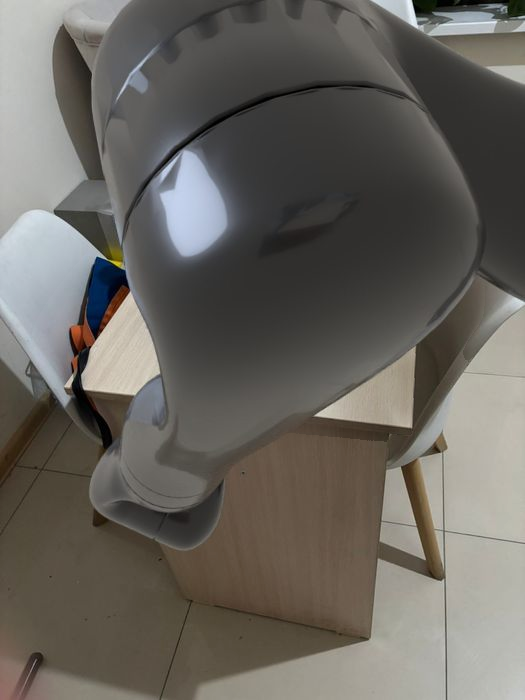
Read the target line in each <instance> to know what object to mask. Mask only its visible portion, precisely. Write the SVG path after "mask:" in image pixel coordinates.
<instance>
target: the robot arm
mask: <svg viewBox="0 0 525 700" xmlns="http://www.w3.org/2000/svg"><path fill="white" fill-rule="evenodd" d="M90 82H91V83H90V84H91V85H90V86H91V87H90V88H91V111H92V121H93V125H94V126H93V127H94V132H95V136H96V141H97V142H96V143H97V148H98V153H99V158H100V163H101V169H102V175H103V179H104V181H105V182H106V183H105V184H106V187H107V192H108V197H109V200H110V205H111V209H112V215H113V218H114V222H115V227H116V231H117V236H118V240H119V244H120V249H121V253H122V260H123V261H122V262H123V266H124V271H125V276H126V280H127V284H128V288H129V291H130V294H131V296H132V298H133V300H134V302H135V305H136V307H137V309H138V311H139V313H140V315H141V317H142V319H143V322H144V323H145V326H146V328H147V331H148V333H149V335H150V338H151V341H152V344H153V348H154V351H155V356H156V360H157V363H158V368H159V373H158V374H156V375H155V376H153V377H151V379H149V380H148V381H147V382H145V383H144V384H143V386H142V387H141V388H139V390H137V392H136V393H135V395H134V396H133V398H132V400H131V401H130V403H129V405H128V407H127V410H126V412H125V416H124V419H123V422H122V428H121V433H120V436H118V437H117V438H116V439H115V440H114V441H113V442H112V443H111V444H110V445H109V446H108V447H107V449H106V450H105V451H104V453H103V454H102V455H101V457H100V458H99V460H98V462H97V464H96V466H95V467H94V469H93V471H92V475H91V477H90V482H89V487H88V495H89V501H90V503H91V505H92V507H93V508H94V509H95V510H96V512H98V514H100V515H101V516H102V517H104V518H106V519H107V520H109V521H111V522H114V523H115V524H118V525H120V526H123V527H124V528H127V529H129V530H131V531H134V532H135V533H138V534H140V535H142V536H144V537H146V538H148V539H151V540H154V541H155V542H157V543H159V544H162V545H164V546H166V547H169V548H170V549H173V550H177V551H180V552H181V551H182V552H186V551H191V550H194V549H196V548H198V547H199V546H201V545H202V544H203V543H205V542H206V541H207V540H208V539H209V538H210V536H211V535H212V534H213V533H214V531H215V530H216V528H217V526H218V524H219V521H220V519H221V516H222V513H223V509H224V503H225V495H226V487H227V475H228V474H229V473H230V471H231V470H232V469H233V468H234V467H235V466H236V465H237V464H238V463H240V462H241V461H243V460H244V459H246V458H248V457H249V456H251V455H252V454H254V453H256V452H258V451H259V450H261V449H263V448H265V447H266V446H268V445H270V444H271V443H273V442H275V441H277V440H278V439H280V438H281V437H283V436H285V435H286V434H288V433H290V432H291V431H293V430H295V429H296V428H298V427H299V426H301V425H302V424H304V423H306V422H307V421H308V420H310V419H311V418H313V417H314V416H317V414H320V413H321V412H322V411H324V410H325V409H327V408H329V406H331V405H333V404H335V403H337V402H338V401H339V400H342V399H343V398H344V397H346V396H347V395H349V394H350V393H352V392H354V391H355V390H357V389H358V388H360V387H361V386H362V385H364V384H366V383H367V382H369V381H371V380H372V379H373V378H375V377H377V376H378V375H380V374H381V373H382V372H383V371H386V369H388V368H389V367H390V366H392V365H394V363H396V362H397V361H399V360H400V359H401V358H403V357H404V356H405V355H406V354H407V353H409V352H410V351H411V350H412V349H414V348H415V347H416V346H417V345H418V344H420V343H421V342H422V341H423V340H424V339H425V338H426V337H427V336H428V335H429V334H431V333H432V332H433V331H434V330H435V329H436V328H437V327H438V326H439V325H440V324H441V323H442V322H443V321H444V320H445V319H446V318H447V317H448V316H449V314H450V313H451V312H452V311H453V310H454V308H455V307H456V306H457V305H458V304H459V303H460V301H461V300H462V299H463V297H464V296H465V295H466V293H467V292H468V290H469V289H470V287H471V286H472V283H473V282H474V280H475V278H476V277H477V276H479V277H480V278H482V279H483V280H484V281H486V282H488V283H489V284H491V285H492V286H493V287H496V288H497V289H499V290H500V291H503V292H504V293H506V294H508V295H510V296H511V297H513V298H515V299H517V300H518V301H519V300H520V301H521V302H523V303H525V83H523V82H520V81H516V80H514V79H512V78H510V77H507V76H505V75H502V74H501V73H498V72H495V71H493V70H491V69H490V68H487V67H486V66H483V65H482V64H480V63H478V62H475V61H474V60H472V59H471V58H469V57H467V56H465V55H463V54H462V53H460V52H459V51H457V50H454V49H453V48H451V47H449V46H448V45H446V44H444V43H443V42H441V41H440V40H438V39H436V38H434V37H433V36H431V35H430V34H427V32H425V31H423V30H421V29H419V28H417V27H416V26H414V25H412V24H411V23H409V22H408V21H406V20H404V19H403V18H401V17H399V16H397V15H396V14H394V13H393V12H391V11H389V10H388V9H387V8H384V6H381V5H380V4H378V3H376V2H375V1H373V0H130V1H129V2H128V3H126V4H125V5H124V6H123V7H122V8H121V9H120V10H119V12H118V13H117V15H116V17H115V18H114V19H113V21H112V22H111V23H110V25H109V26H108V28H107V30H106V31H105V33H104V34H103V36H102V39H101V41H100V44H99V46H98V48H97V51H96V54H95V58H94V62H93V65H92V73H91V81H90Z"/></svg>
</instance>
